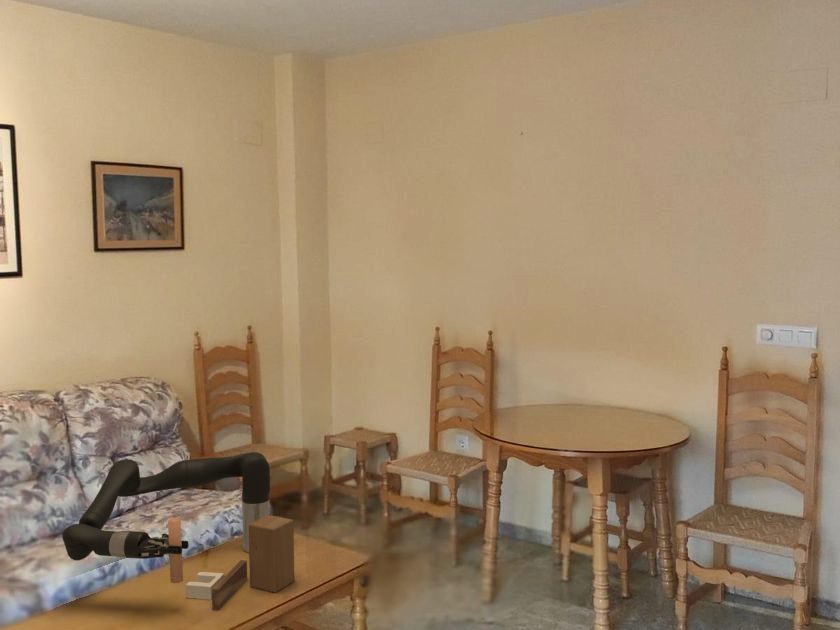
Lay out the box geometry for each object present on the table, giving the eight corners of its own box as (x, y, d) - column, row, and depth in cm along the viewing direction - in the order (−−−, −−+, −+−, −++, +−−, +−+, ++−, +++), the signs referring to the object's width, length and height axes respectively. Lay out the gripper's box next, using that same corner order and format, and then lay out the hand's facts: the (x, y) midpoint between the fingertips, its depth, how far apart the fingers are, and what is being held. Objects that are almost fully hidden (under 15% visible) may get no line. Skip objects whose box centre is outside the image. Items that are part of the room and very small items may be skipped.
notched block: (186, 597, 246) (185, 585, 245) (200, 584, 255) (200, 571, 255) (211, 599, 244) (210, 586, 244) (224, 585, 254) (224, 573, 254)
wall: (212, 609, 238) (211, 589, 237) (241, 578, 259) (240, 560, 259) (218, 609, 237) (218, 589, 237) (247, 578, 259) (246, 560, 258)
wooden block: (249, 587, 253) (247, 524, 251) (269, 575, 262) (268, 514, 260) (275, 593, 248) (273, 529, 247) (295, 581, 257) (293, 519, 255)
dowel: (180, 577, 240) (177, 517, 238) (185, 580, 237) (182, 520, 235) (168, 580, 238) (166, 519, 236) (173, 584, 235) (170, 523, 233)
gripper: (115, 541, 232) (173, 544, 229) (140, 523, 245) (195, 526, 243) (117, 566, 232) (174, 570, 229) (142, 547, 246) (196, 550, 243)
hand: (184, 547), depth 236 cm, fingers closed on dowel, 3 cm apart
